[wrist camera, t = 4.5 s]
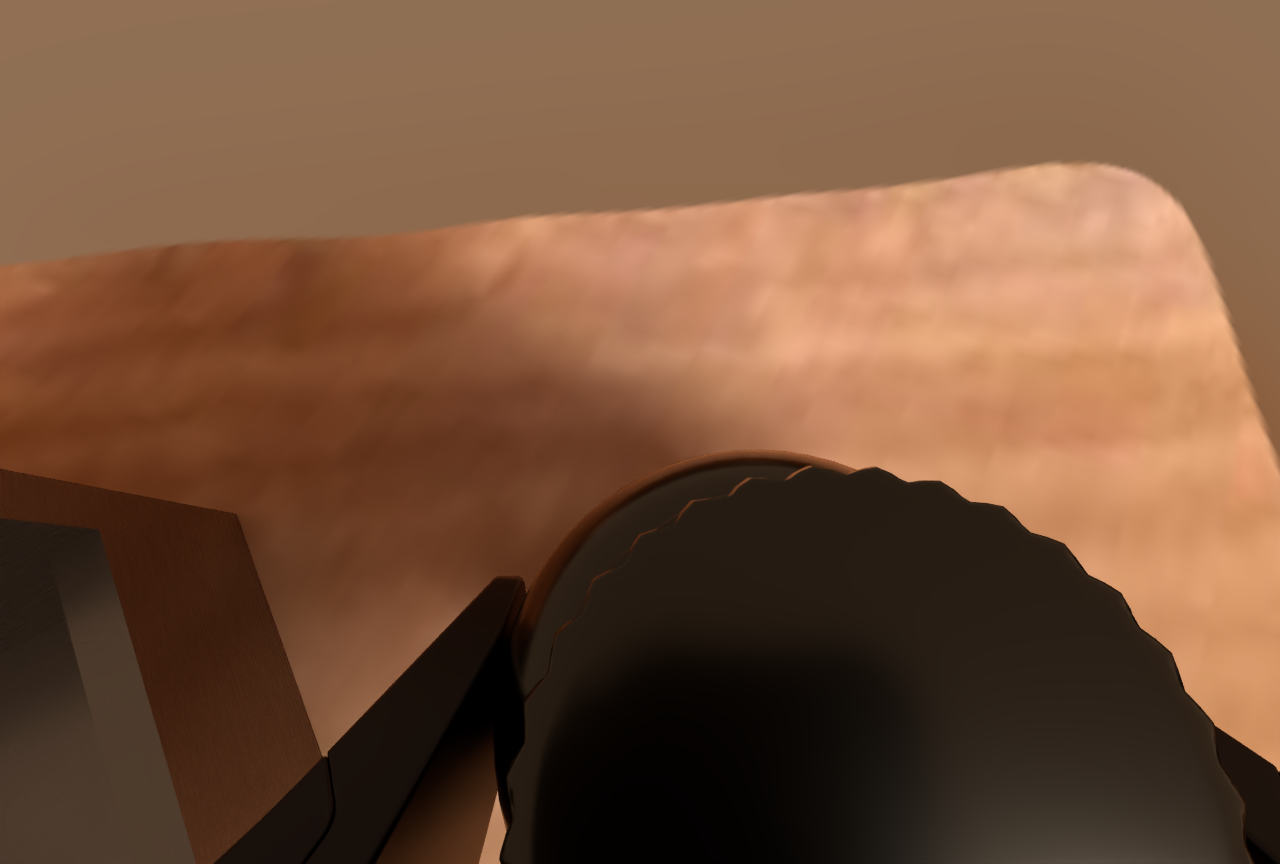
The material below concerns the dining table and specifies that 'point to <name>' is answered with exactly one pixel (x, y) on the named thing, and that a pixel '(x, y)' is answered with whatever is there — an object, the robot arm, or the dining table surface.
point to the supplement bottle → (841, 687)
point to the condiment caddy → (136, 680)
